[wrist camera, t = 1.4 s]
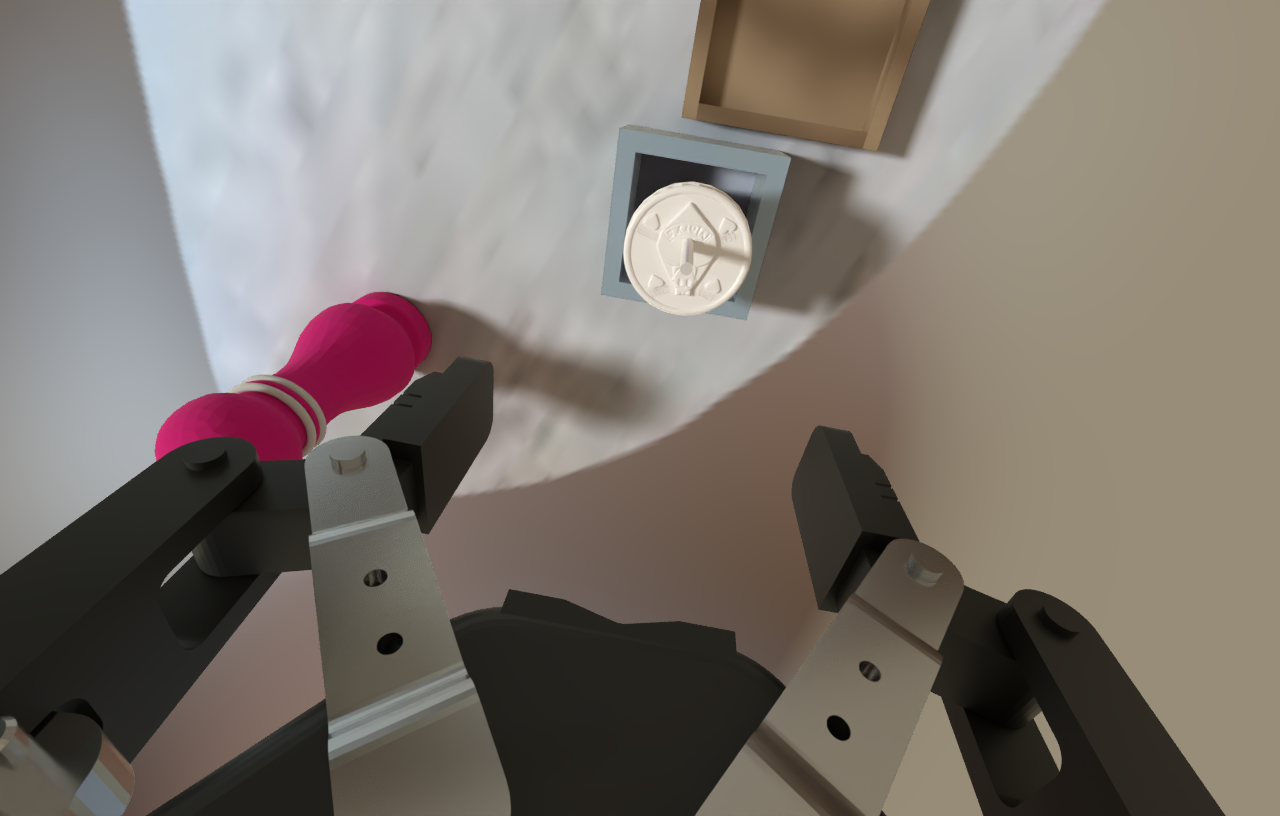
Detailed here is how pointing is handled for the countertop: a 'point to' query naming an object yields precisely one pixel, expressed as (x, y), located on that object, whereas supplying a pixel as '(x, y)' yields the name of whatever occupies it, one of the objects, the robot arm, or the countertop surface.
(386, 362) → the pepper mill
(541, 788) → the robot arm
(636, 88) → the countertop surface
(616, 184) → the holder
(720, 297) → the smoothie
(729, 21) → the tray
